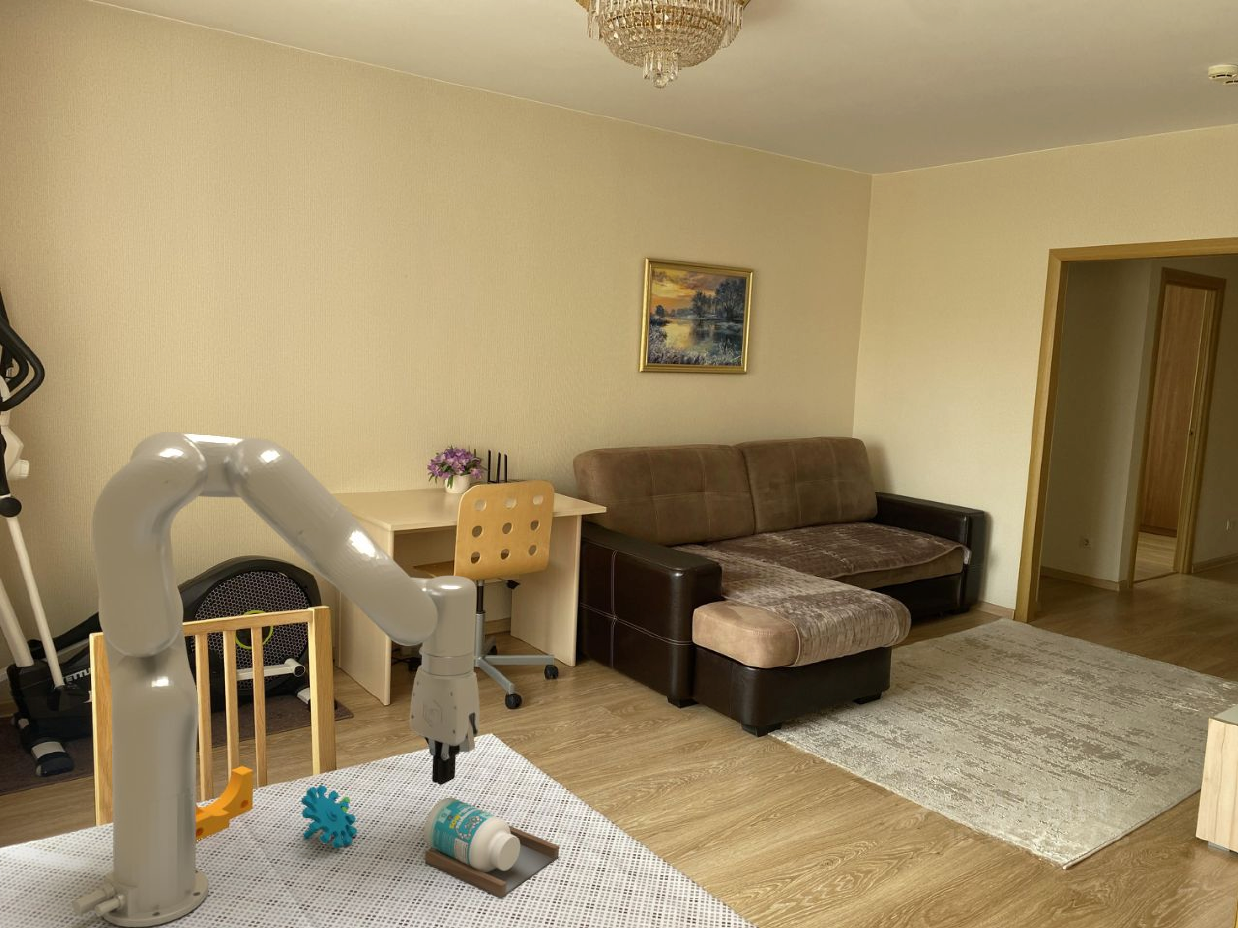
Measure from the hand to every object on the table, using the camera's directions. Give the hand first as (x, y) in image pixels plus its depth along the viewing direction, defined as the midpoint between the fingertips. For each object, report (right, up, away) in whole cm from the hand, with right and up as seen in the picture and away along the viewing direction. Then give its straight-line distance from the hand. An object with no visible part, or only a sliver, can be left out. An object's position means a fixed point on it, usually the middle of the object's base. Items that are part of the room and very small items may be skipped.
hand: (443, 780), depth 138 cm
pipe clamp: (-34, -7, +1) cm, 35 cm away
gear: (-17, -9, -1) cm, 19 cm away
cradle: (+8, -10, -4) cm, 14 cm away
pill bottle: (0, -5, -2) cm, 6 cm away
